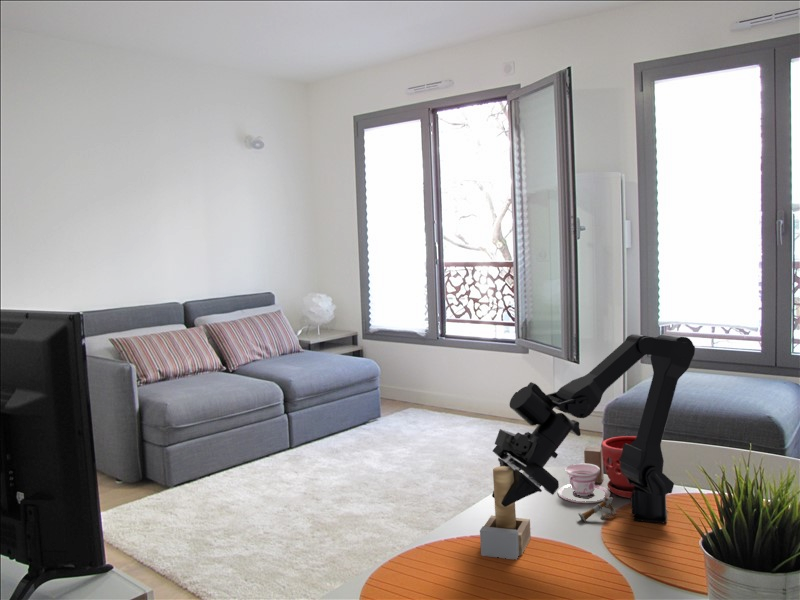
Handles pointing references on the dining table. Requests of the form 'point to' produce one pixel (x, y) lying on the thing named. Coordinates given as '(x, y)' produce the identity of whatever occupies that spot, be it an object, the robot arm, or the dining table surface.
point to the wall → (499, 542)
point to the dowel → (502, 484)
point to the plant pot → (616, 465)
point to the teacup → (583, 481)
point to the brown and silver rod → (597, 508)
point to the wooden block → (595, 460)
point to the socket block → (522, 528)
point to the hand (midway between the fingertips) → (498, 501)
